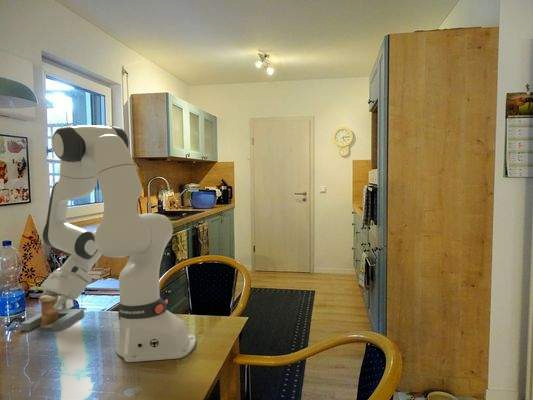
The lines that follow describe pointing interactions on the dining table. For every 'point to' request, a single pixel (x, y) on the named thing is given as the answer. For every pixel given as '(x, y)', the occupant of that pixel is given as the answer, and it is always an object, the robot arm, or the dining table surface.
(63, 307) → the beer glass
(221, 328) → the dining table surface
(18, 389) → the dining table surface
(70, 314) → the grey flat piece
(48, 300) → the cord reel
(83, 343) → the dining table surface
